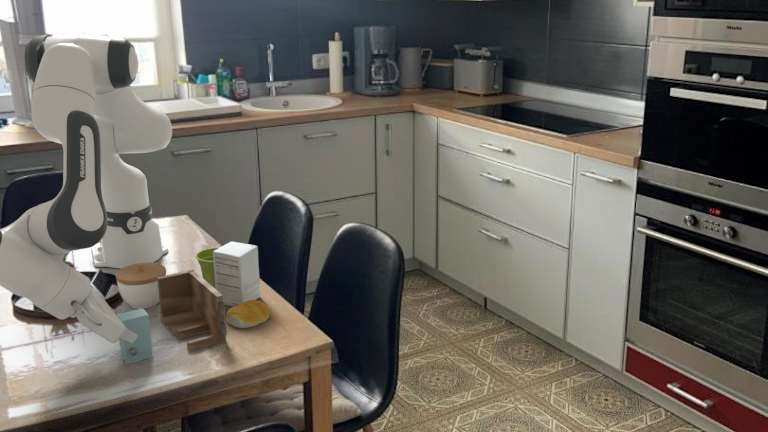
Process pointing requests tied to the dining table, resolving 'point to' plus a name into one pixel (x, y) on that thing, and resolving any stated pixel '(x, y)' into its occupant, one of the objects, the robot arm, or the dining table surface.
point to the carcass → (192, 308)
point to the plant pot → (207, 264)
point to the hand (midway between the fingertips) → (126, 329)
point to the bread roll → (247, 314)
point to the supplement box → (237, 273)
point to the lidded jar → (140, 284)
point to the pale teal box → (142, 344)
